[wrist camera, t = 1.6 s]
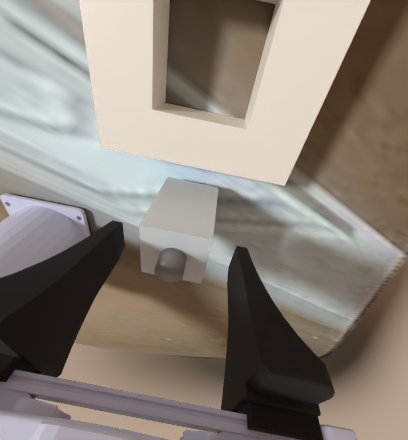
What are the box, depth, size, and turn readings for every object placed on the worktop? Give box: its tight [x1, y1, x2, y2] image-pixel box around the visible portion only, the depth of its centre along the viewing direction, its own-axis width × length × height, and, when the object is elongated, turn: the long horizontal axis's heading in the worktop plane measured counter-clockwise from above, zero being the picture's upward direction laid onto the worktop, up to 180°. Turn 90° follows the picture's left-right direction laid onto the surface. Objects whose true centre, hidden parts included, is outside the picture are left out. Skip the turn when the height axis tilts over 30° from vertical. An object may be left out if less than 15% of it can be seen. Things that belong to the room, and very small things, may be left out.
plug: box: [139, 177, 219, 284], centre depth 14 cm, size 4×4×8 cm
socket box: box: [79, 0, 371, 186], centre depth 11 cm, size 11×12×3 cm
